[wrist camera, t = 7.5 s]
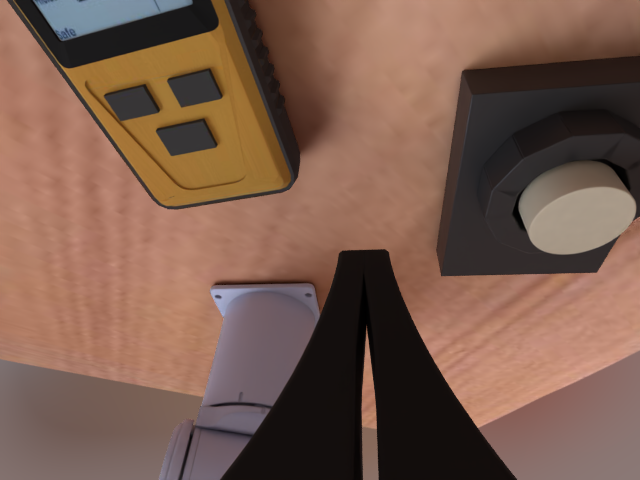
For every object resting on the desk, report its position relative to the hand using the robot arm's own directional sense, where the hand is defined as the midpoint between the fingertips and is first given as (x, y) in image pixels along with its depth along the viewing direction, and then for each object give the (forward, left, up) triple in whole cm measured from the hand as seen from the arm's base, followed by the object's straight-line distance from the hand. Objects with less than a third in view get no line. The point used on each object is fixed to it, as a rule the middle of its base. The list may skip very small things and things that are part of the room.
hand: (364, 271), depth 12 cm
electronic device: (+4, +8, -11) cm, 14 cm away
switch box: (-5, -9, -10) cm, 15 cm away
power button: (-3, -9, -7) cm, 12 cm away
